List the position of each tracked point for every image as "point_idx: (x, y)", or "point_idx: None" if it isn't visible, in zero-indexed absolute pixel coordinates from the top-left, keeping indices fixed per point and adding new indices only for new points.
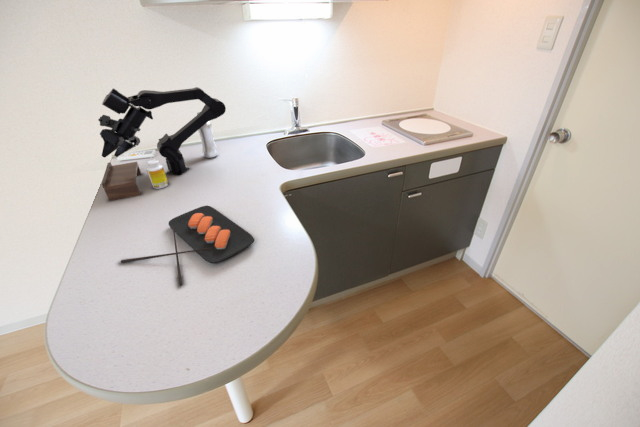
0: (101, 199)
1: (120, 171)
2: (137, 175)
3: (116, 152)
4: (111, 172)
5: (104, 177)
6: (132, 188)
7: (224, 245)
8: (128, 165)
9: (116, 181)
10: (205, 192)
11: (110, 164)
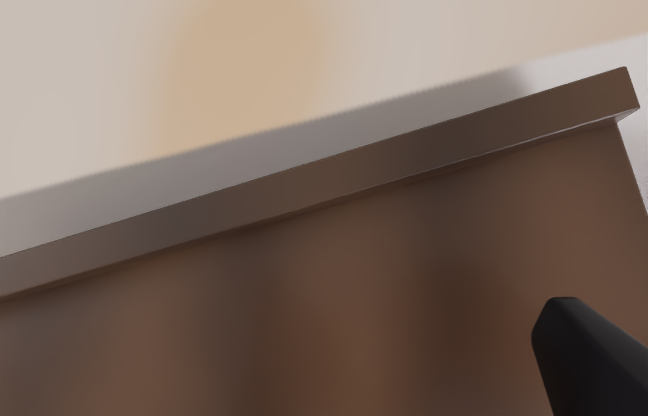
0: (80, 193)
1: (347, 346)
2: None
3: (598, 375)
4: (340, 220)
5: (34, 262)
6: None
7: None
8: None
9: (31, 402)
10: None
11: (561, 133)
